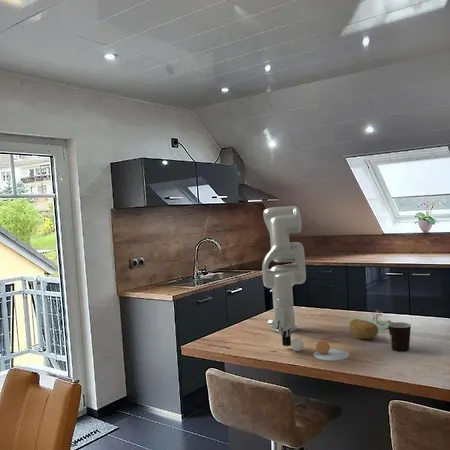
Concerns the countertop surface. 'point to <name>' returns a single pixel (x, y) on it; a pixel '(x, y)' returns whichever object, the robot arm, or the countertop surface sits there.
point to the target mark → (332, 355)
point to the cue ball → (297, 344)
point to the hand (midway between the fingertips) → (286, 345)
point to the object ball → (322, 347)
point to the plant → (378, 322)
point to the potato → (363, 329)
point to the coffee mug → (399, 336)
